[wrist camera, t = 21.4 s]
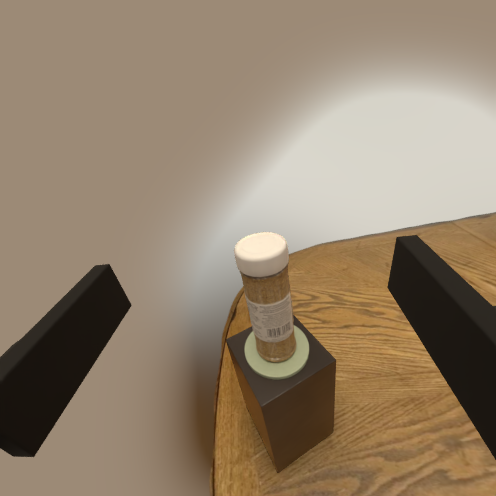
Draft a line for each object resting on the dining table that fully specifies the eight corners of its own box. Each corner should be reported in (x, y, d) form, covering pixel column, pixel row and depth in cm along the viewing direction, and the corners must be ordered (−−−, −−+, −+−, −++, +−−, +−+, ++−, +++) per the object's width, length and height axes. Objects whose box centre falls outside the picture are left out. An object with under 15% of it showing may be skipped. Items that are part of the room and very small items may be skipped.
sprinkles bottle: (293, 327, 29) (283, 227, 23) (300, 362, 25) (291, 253, 19) (255, 331, 30) (234, 234, 23) (256, 366, 26) (231, 261, 19)
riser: (277, 473, 31) (260, 407, 23) (246, 407, 38) (225, 339, 30) (333, 432, 34) (336, 359, 26) (294, 377, 41) (287, 308, 33)
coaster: (264, 393, 24) (263, 390, 24) (235, 341, 30) (234, 338, 29) (323, 357, 26) (323, 354, 26) (285, 315, 32) (285, 312, 32)
